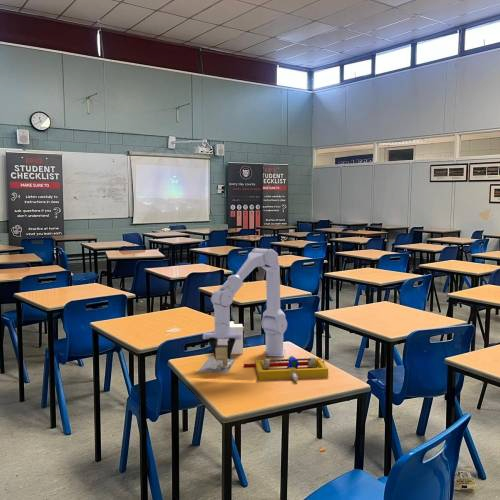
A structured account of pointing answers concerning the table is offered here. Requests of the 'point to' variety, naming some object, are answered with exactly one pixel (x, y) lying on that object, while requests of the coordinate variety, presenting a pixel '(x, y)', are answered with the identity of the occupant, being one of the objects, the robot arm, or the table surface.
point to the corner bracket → (238, 343)
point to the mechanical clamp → (290, 368)
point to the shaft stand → (216, 365)
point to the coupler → (222, 353)
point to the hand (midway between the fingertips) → (222, 358)
